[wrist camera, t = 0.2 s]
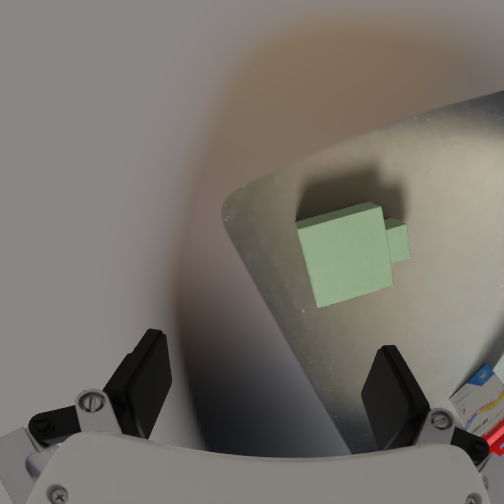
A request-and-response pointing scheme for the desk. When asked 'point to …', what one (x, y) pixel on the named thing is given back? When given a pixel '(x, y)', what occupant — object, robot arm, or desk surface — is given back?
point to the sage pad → (351, 251)
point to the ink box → (482, 407)
